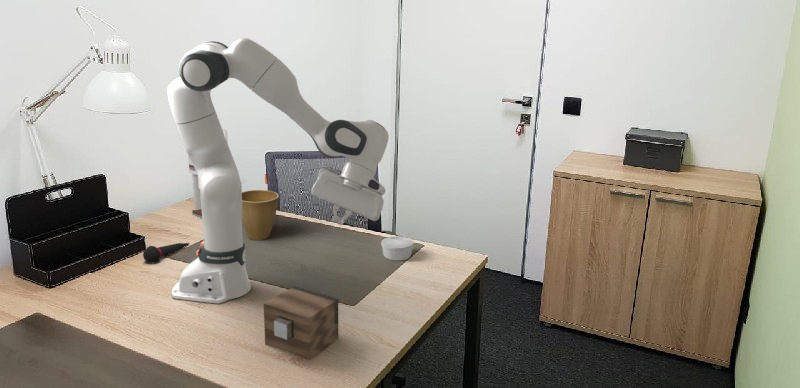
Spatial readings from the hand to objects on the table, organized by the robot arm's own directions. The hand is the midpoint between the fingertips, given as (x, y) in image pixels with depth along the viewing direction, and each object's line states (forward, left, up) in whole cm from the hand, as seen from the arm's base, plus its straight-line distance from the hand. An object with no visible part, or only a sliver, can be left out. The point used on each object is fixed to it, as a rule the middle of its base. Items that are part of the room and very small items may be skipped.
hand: (336, 223), depth 170 cm
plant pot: (-34, +53, -25) cm, 68 cm away
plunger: (-7, -22, -20) cm, 30 cm away
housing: (-7, -21, -25) cm, 33 cm away
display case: (-58, +76, -25) cm, 99 cm away
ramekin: (+17, +38, -25) cm, 49 cm away
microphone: (-60, +34, -25) cm, 74 cm away
